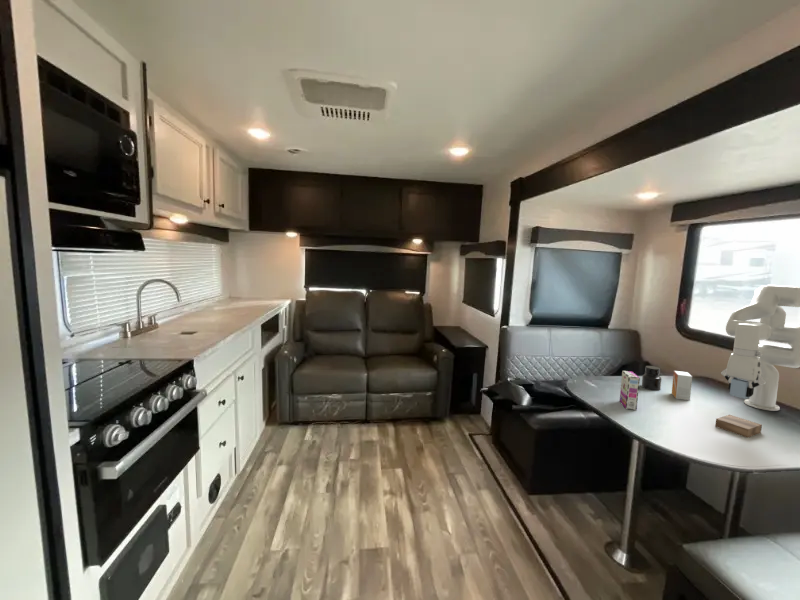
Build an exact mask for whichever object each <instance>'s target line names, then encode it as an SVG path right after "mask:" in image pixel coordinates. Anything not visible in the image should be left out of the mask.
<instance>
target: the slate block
mask: <svg viewBox="0 0 800 600" xmlns="http://www.w3.org/2000/svg"><path fill="white" fill-rule="evenodd" d="M747 388H748V381H747V380H743V379H739V378H734V379H731V387H730V392H729V395H730V396H733V397H737V398H739V399H744V400H746V399H749V397H746V392H747Z"/></svg>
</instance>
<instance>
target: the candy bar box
mask: <svg viewBox="0 0 800 600" xmlns="http://www.w3.org/2000/svg"><path fill="white" fill-rule="evenodd" d="M640 379H641V378H640V377H639V376H638V375H637V374H636V372H635V373H634V371H630V370H629V371H628V370H622V372H621V381H620V392H619V402H620V403H622V404H621V405H622V406H623V407H624V409H625V410H631V411H637V410H638V398H639V390H640V389H639V388H640Z"/></svg>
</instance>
